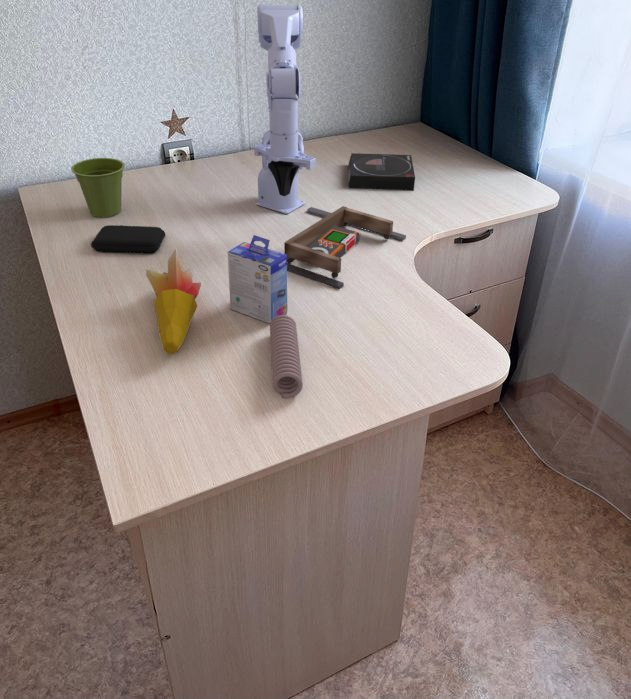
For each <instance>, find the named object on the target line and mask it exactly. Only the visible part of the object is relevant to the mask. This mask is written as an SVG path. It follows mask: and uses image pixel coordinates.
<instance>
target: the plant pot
mask: <svg viewBox="0 0 631 699" xmlns="http://www.w3.org/2000/svg"><path fill="white" fill-rule="evenodd" d="M124 168H125V163H124V162H123V161H122V160H120V159H117V158H111V157H93V158H88V159H84V160H80V161H78V162H76V163H75V164H73V165H72V166H71V168H70V171H71V172H72V173H73V174H74V176H75V178H76V180H77V182H78V183H79V186H80V188H81V191H82V194H83V197H84V199H85V203H86V205H87V207H88V208H87V209H88V210H89V213H90V215H92V216H93V217H94V216H95V217H96V218H111V217H114V215H119V214H120V213H121V211H122V189H123V188H122V183H123V180H122V179H123V176H124V175H123V173H124V172H123V171H124Z"/></svg>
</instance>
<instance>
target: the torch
mask: <svg viewBox="0 0 631 699" xmlns="http://www.w3.org/2000/svg"><path fill="white" fill-rule="evenodd" d="M192 274H193V273H192V268H186V269H182V266H181V263H180V258H179V255H178V250H177V248H176V247H175V249H174V250H173V251H172V253H171V255H170V256H169V257H168V260H167V272H166V271H164V272H163V273H160V272H158V271H157V270H156V268H155V267H154V266H153V265H152V264H150V268H149V269H145V277H146V278H147V279H148V281H149V283H150V285H151V287H152V289H153V291H154V294H155V296H156V298H155V299H154V300H153V304H154V307H155V308H154V309H155V313H156V317H157V326H158V327H157V328H158V334H159V335H158V336H159V339H160V342H161V345H162V349H163V351H164V352H165V353H166V354H167V355H174V354H176V353H177V352H178V351H179V349H180V348H181V346H182V345H183V343H184V341H185V338H186V336H187V334H188V331H189V327H190V324H191V323H192V319H193V317H194V315H195V312H196V310H197V309H198V304H197V301H196V298H197V297H198V295H199V292H200V290H201V286H202V282H194V281H193V275H192Z"/></svg>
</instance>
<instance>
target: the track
mask: <svg viewBox="0 0 631 699" xmlns="http://www.w3.org/2000/svg"><path fill="white" fill-rule="evenodd" d="M306 210H307V213H309V214H312V215H315V216H317V217H318V216H319V217H322V218H324V217H326V216H328V215H329V214H331V213H332V212H329V211H326V210H322V209H319V208H317V207H316V208H315V207H313V206H310V207H308V208H307V209H306ZM351 225H352V226H351ZM348 226H351V227H354V226H355V228H358V227H359V228H358V229H361V228H363V227H360V226H356V225H353V224H350V223H348ZM364 229H366V228H363V229H362V230H364ZM368 230H369V231H368ZM365 231H368V232H371V231H372V232H371V233H374V232H376V231H373V230H370V229H366V230H365ZM377 233H379V232H376V233H375V234H377ZM381 234H382V236H384V234H383V233H379V234H378V235H381ZM390 238H392V239H395V240H397V241H400V240H401V241H400V242H403V241H404V240H406V238H407V235H406V234H404V233H400V232H397V231H394V230H393V231H392V234H391V235H390ZM287 272H288V273H289V272H290V273H292V274H294V275H298V276H300V277H303V278H306V279H309V280H311V281H314V282H316V283H318V284H319V283H320V284H322V285H326V286H328V287H330V288H334V289H336V290H340V289H342V288H343V287H344V282H342V281H340V280H338V279H336V278H333V277H332V278H331V277H329V276H326V275H323V274H320V273H317V272H314V271H312V270H308V269H307V268H303V267H300V266H297V265H294V264H292V263H287Z"/></svg>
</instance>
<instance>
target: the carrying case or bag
mask: <svg viewBox="0 0 631 699" xmlns="http://www.w3.org/2000/svg"><path fill="white" fill-rule="evenodd" d="M165 237H166V232H165V230H163V229H162V228H161V227H158V226H143V225H117V224H116V225H111V224H110V225H108V224H107V225H104V226H103V227H101V229H100V230H99V231H98V233H97V234H96V236H95V237H94V238H93V239H92V241H91V242H90V243H91V244H90V246H91V248H92V249H93V250H95V251H96V252H98V253H108V254H109V253H110V254H111V253H115V254H135V255H136V254H142V255H145V254H147V255H149V254H151V255H152V254H155V253H157V251H158V250H159V249H160V247H161V245H162V243H163V241H164V240H165Z"/></svg>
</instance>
